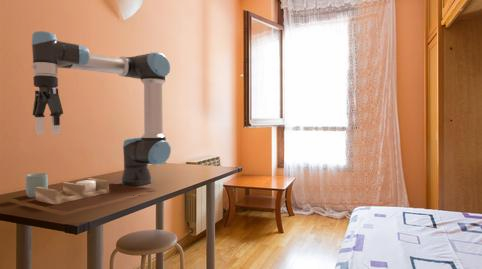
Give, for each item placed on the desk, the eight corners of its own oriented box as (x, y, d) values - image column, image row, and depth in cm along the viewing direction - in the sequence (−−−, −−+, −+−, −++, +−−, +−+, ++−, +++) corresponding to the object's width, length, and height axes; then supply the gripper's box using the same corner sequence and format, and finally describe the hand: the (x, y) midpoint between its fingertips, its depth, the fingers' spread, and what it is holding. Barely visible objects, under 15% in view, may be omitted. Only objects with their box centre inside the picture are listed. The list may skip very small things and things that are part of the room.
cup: (28, 197, 136) (27, 174, 135) (49, 195, 139) (48, 172, 138) (24, 201, 128) (23, 176, 128) (46, 199, 131) (45, 175, 131)
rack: (89, 191, 145) (89, 178, 145) (109, 195, 137) (108, 180, 137) (35, 202, 126) (35, 187, 125) (55, 207, 118) (54, 190, 118)
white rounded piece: (89, 190, 141) (89, 179, 141) (99, 192, 137) (99, 181, 137) (72, 194, 135) (72, 182, 135) (83, 196, 131) (82, 184, 131)
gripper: (21, 78, 120) (23, 134, 121) (48, 71, 105) (51, 135, 106) (43, 80, 126) (45, 133, 127) (72, 73, 111) (74, 134, 111)
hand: (48, 134), depth 116 cm, fingers open, 13 cm apart
